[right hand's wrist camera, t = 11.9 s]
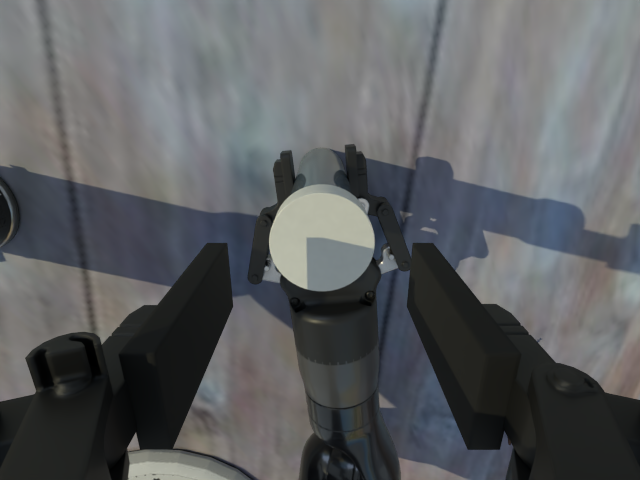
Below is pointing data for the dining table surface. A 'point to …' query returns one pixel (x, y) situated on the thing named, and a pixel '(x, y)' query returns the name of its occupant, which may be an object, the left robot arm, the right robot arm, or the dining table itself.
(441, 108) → the dining table surface
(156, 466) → the wall clock
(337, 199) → the lid
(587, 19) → the dining table surface
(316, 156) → the gray cylinder
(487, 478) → the dining table surface
